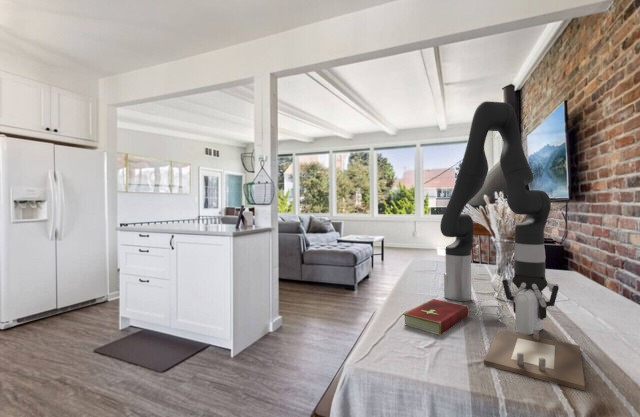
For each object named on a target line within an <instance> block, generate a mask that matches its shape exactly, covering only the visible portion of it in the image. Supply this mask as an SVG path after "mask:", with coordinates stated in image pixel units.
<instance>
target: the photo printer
mask: <svg viewBox="0 0 640 417" xmlns="http://www.w3.org/2000/svg"><path fill="white" fill-rule="evenodd" d="M516 294H517V293H516ZM516 294H515V296H516V299H515V313H514V314H515V331H516V333H519V334H524V335H529V336H531V335H533V330H539V331H541V330H543V329H544V326H545V323H544V322H545V321H544V320H545V318H544V319H543V320H540V306H541V304H540V302H539V300H538V298H537V296H536V294H535V292H534V291H533V290H531V289H528V290H527V289H524V290H521V291H520V292H519V293H518V294H517V295H516Z"/></svg>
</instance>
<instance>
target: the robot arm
mask: <svg viewBox="0 0 640 417" xmlns="http://www.w3.org/2000/svg"><path fill="white" fill-rule="evenodd" d="M489 132H497V133H499V134H500V136H501V138H502V142H503V143H502V150H501V153H500V156H499V157H500V158H499V163H500V169H501V172H502V174H503V177H504V179H505V182H506V199H507V200H506V201H507V206H508V208H509V209H510V210H511V211H512V213H514V214H515V215H525V216H526V215H527V217H526V219H525V220H524V221H522V222H519V223H518V224H516V225H515V228H514V248H513V249H514V250H513V252H514V255H513V256H514V258H513V259H514V260H513V262H514V263H513V264H514V265H513V266H514V267H513V268H514V271H513V272H514V274H513V277H512V278H503V279H502V285H503V286H502V287H503V289H504V294H505V297H506V300H508V301H511V302H513V304H512V306H513V307H512V308H513V313H514V314H515V299H516V295H517V294H518V293H519V292H520V291H521V290H524V289H527V290H528V289H531V290H533V291H534V292H535V294H536V296H537V298H538V300H539V302H540V304H541V306H540V320H543V319H544V320H545V319H546V318H547V308H548V307H554V306H555V303H556V300H557V296H558V292H559V288H560V287H559V284H558V283H555V284H553V283H550V282H548V280H547V279H546V258H547V256H546V249H545V228H546V225H547V222H548V218H549V215H550V212H551V206H552V201H551V198H550V196H549V194H548V193H547V192H546V191H544V190H540V189H539V190H538V189H535V190H534V189H532V190H531V189H529V190H528V189H526V186H527V185H529V184H531V183H532V182H533V181H534V174H533V171H532V169H531V166H530V164H529V162H528V159H527V157H526V154H525V152H524V149H523V144H522V139H521V133H520V129H519V124H518V119H517V114H516V111H515V109H514V107H513V105H512V104H510V103H508V102H501V101H490V100H489V101H488V100H487V101H481V103H479V104H478V106H477V107H476V108H475V111H474V113H473V117H472V121H471V126H470V131H469V136H468V139H467V140H468V141H467V144H466V148H465V152H464V154H463V157H462V158H463V159H462V162H461V164H460V167H459V170H458V173H457V176H456V180H455V183H454V187H453V189H452V193H451V195H450V199H449V201H448V203H447V206H446V207H445V210H444V212H443V215H442V217H441V221H440V225H439V226H440V232H441V234H442V235H443V236H444V237H445V238H455V241H453V242H452V243H451V244H449V245H447V246H445V250H444V252H445V273H444V274H443V282H444V283H443V284H444V285H443V287H444V288H443V289H444V291H443V295H444V296H443V298H446V299H448V300H452V301H455V302H456V301H457V302H458V301H459V302H468V301H471V300H472V249H473V246H474V221H473V218H472V217H471V215H469V214H468V213H463V211H464V210H463V209H465V206H467V204H468V203H469V202H470V201H471V200H472V199H473V198H474V197H475V196H476V195H478V193H479V192H480V191H481V190H482V188H483V187H484V184H485V181H486V178H487V176H488V172H489V163H488V158H487V155H486V151H485V143H486V139H487V136H488V134H489ZM512 283H513V284H514V286H516V288H517V289H518V290H517V291H516V294H515V295H512V291H511V288H510V287H512ZM546 288H548V290H549V292H551V293H550V297H549V299H548V300H547V299H546V298H545V297H544V294H543V291H544V289H546Z"/></svg>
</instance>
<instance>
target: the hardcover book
mask: <svg viewBox="0 0 640 417" xmlns="http://www.w3.org/2000/svg"><path fill="white" fill-rule="evenodd" d="M469 313H470V312H469V306H468V305H467V304H466V305H465V304H460V303H455V302H451V301H447V300H442V299H437V298H432V299H431V300H428V301H426V302H424V303H422V304H420V305H417V306H415V307H413V308H411V309H410V310H407V311H405V312H403V313H402V315H403V316H404V325H405V324H406V325H405V326H407V325H409V326H408V327H411V326H412V328H414V327H415V329H418V328H419V329H418V330H421V329H422V331H425V330H426V331H425V332H428V333H433V334H435V335H438V336H441V335H443V334H444V333H446V332H447V331H449V330H450V329H451V328H453V327H454V326H457V325H458V324H459V323H461V322H462V321H464V320H465V319H466V318H468V317H469Z"/></svg>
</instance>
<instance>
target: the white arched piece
mask: <svg viewBox="0 0 640 417" xmlns="http://www.w3.org/2000/svg"><path fill="white" fill-rule="evenodd" d="M482 308H483V309H484V308H485V309H486V308H497V310H496V312H495V314H497V315H498V316H497V317H496V318H497V320H498V321H499V322H501V323H502V320H501V318H502V317H505V315H506V314H504V312H503V311H502V310H501V308H502V305H501V304H500V303H499V302H498V299H490V300H489V299H488V300H484V301H480V303H479V304H478V306H477V311H476V312H475V314H474V315H475V317H476V316H477V317H478V321H481V319H482V316H483V312H482V310H481V309H482ZM479 312H480V313H481V314H480V316H479V315H478V313H479ZM499 312H500V313H499Z"/></svg>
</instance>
